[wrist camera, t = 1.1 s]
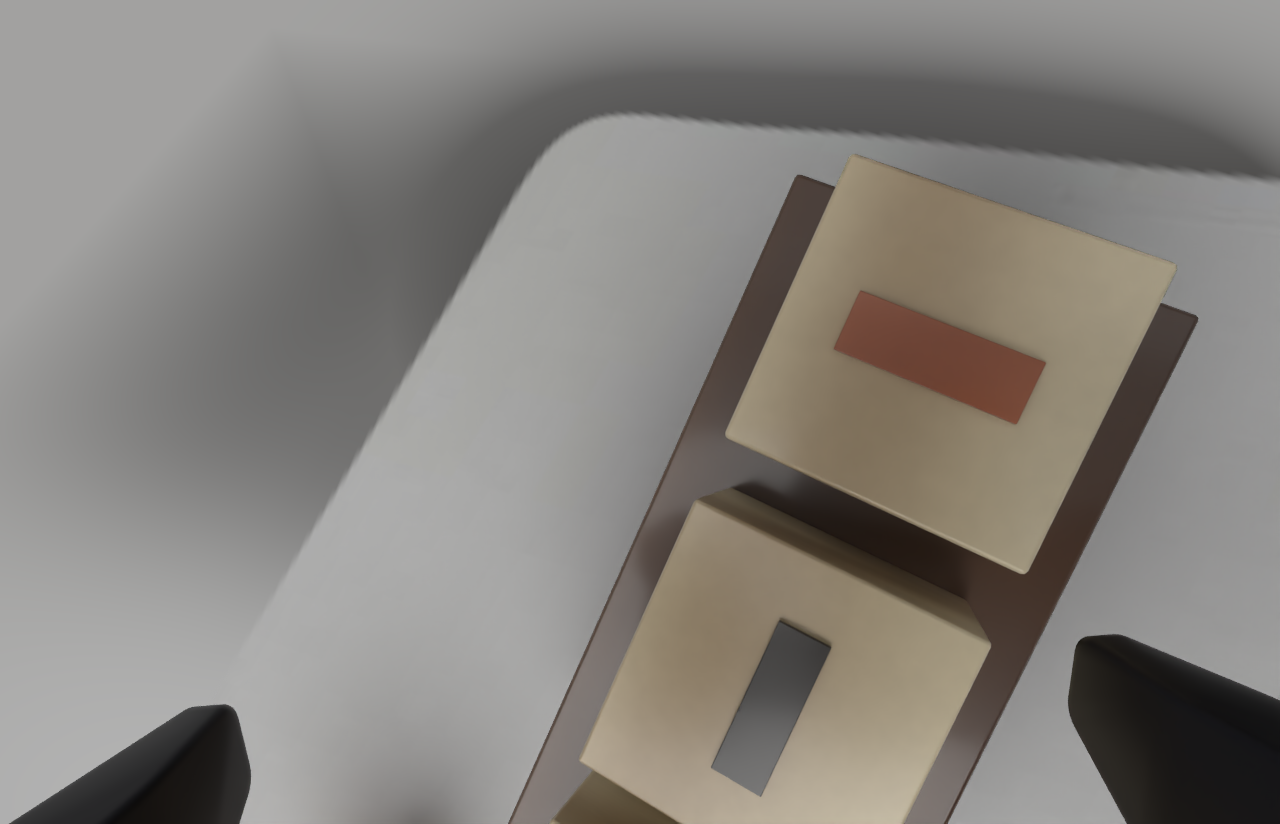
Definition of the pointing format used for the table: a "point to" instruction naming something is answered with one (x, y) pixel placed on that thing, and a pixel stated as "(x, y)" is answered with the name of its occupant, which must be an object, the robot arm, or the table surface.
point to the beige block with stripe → (948, 357)
